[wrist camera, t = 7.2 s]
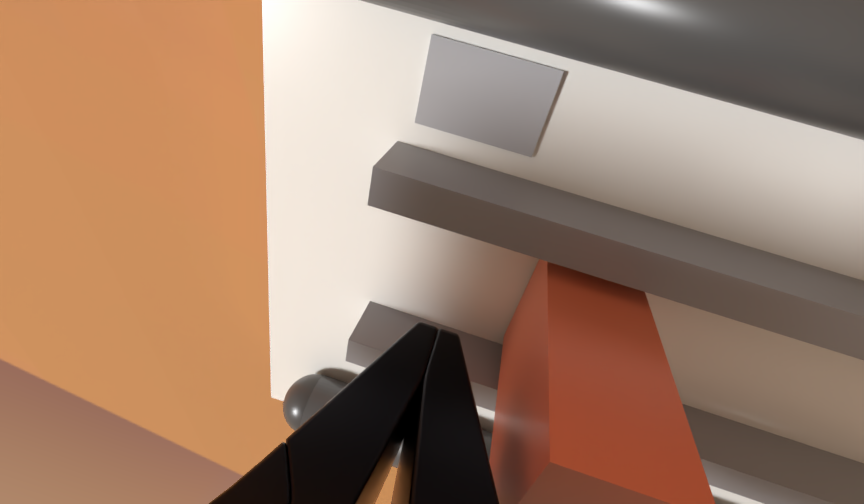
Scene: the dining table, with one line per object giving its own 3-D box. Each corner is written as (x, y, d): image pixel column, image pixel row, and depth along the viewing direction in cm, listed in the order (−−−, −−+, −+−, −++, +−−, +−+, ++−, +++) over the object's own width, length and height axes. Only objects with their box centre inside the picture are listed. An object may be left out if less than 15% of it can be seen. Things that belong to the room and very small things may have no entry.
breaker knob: (637, 271, 9) (720, 520, 5) (579, 360, 10) (602, 601, 6) (546, 242, 9) (549, 461, 5) (503, 336, 11) (478, 556, 6)
